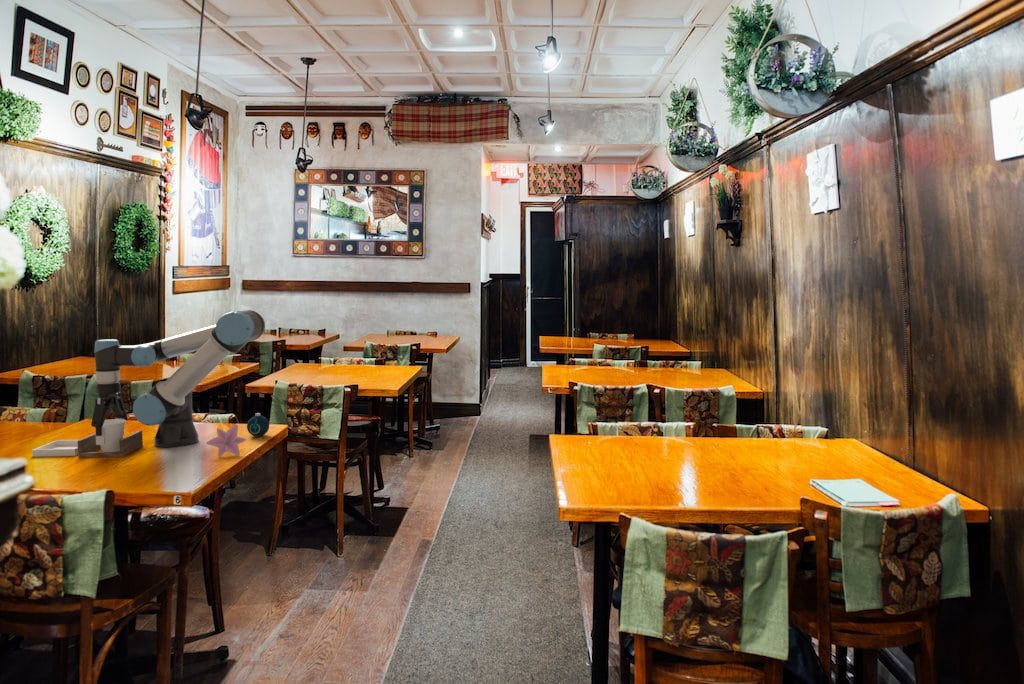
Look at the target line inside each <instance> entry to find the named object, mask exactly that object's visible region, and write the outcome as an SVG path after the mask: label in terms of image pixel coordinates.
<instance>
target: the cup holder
mask: <svg viewBox="0 0 1024 684" xmlns="http://www.w3.org/2000/svg"><path fill="white" fill-rule="evenodd" d="M77 440H78V458H112V457H113V458H114V457H115V458H117V457H119V458H120V457H121V458H123V457H125V456H127V455H129V454H131V453H133V452H135V451H136V450H138V449H140V448H142V447H144V445H143V440H144V438H143V430H137V431H135V432H133V433H130V435H127V436H125V437H123V439H121V440H119V443H120V451H119V452H102V451H98V450H99V449H100V450H101V447H100V445H96V432H94V433H92V434H90V435H88V436H85V437H83V438H80V439H77Z"/></svg>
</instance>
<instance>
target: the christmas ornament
mask: <svg viewBox="0 0 1024 684" xmlns="http://www.w3.org/2000/svg"><path fill="white" fill-rule="evenodd" d="M254 414H255V415H254V416H252V417H251V418H250V419H249V420H248V421H247V424H246V429H247V432H248V433H249V435H251V436H254V437H261V436H264V435H266V433H268V431H269V430H270V422H269V420H268V419H267V418H266V417H265V416H263V415H261V413H260V412H257V413H254Z"/></svg>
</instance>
